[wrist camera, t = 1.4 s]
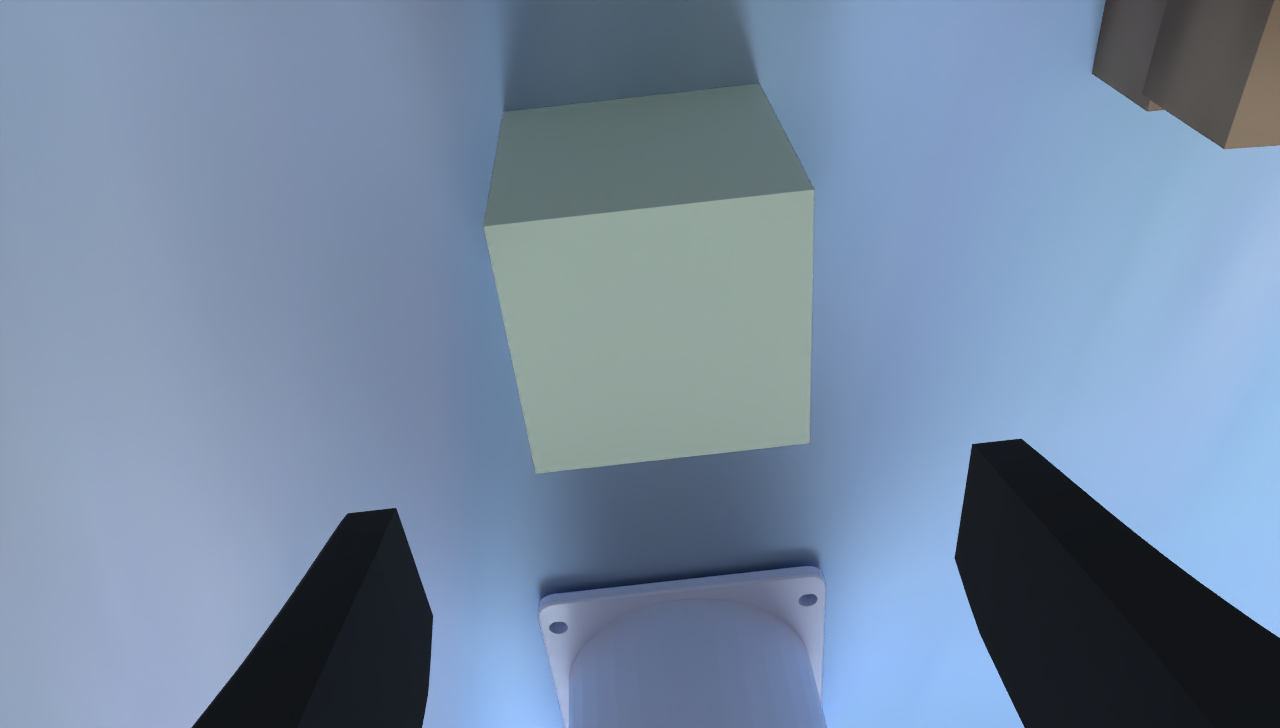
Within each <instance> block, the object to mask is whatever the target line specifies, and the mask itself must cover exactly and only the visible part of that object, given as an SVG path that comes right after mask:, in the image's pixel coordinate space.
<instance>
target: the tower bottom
mask: <svg viewBox="0 0 1280 728" xmlns="http://www.w3.org/2000/svg"><path fill="white" fill-rule="evenodd" d="M1166 3H1167V0H1106V3H1105V8H1104V13H1103V18H1102V23H1101V29H1100V34H1099V39H1098V44H1097V49H1096V54H1095V60H1094V65H1093V70H1092V74H1093V75H1095V76H1096V77H1098V78H1099V79H1101V80H1102V81H1104V82H1105V83H1106V84H1108V85H1109V86H1111V87H1112V88H1114V89H1115V90H1117V91H1118V92H1120V93H1121V94H1123V95H1124V96H1125V97H1127V98H1128V99H1130V100H1131V101H1133V102H1134V103H1136V104H1137V105H1139V106H1140V107H1142V108H1143V109H1144V110H1146V111H1147V112H1148V111H1157V110H1164V109H1163V108H1161V107H1160V106H1158V105H1157V104H1155V103H1154V102H1152V101H1151V100H1149V99H1148V98H1146V97H1145V96H1143V95H1142V91H1143V87H1144V84H1145V80H1146V76H1147V73H1148V69H1149V65H1150V62H1151V58H1152V54H1153V51H1154V47H1155V44H1156V40H1157V36H1158V33H1159V29H1160V25H1161V22H1162V18H1163V14H1164V11H1165V7H1166Z"/></svg>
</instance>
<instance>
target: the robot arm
mask: <svg viewBox="0 0 1280 728" xmlns="http://www.w3.org/2000/svg"><path fill="white" fill-rule="evenodd" d="M955 561H956V564H957V567H958V570H959V573H960V576H961V579H962V582H963V586H964V589H965V592H966V595H967V598H968V601H969V604H970V607H971V610H972V612H973V615H974V618H975V621H976V624H977V627H978V630H979V633H980V635H981V637H982V639H983V641H984V643H985V646H986V648H987V650H988V652H989V654H990V656H991V658H992V660H993V663H994V665H995V667H996V669H997V671H998V673H999V675H1000V677H1001V679H1002V682H1003V684H1004V686H1005V688H1006V690H1007V692H1008V694H1009V696H1010V698H1011V700H1012V702H1013V704H1014V707H1015V709H1016V711H1017V713H1018V715H1019V717H1020V719H1021V721H1022V723H1023V725H1024V727H1025V728H1280V638H1279V637H1277V636H1276V635H1274V634H1273V633H1271V632H1270V631H1268V630H1267V629H1265V628H1264V627H1262V626H1261V625H1259V624H1258V623H1256V622H1255V621H1253V620H1252V619H1251V618H1249V617H1248V616H1246V615H1245V614H1244V613H1242V612H1241V611H1239V610H1238V609H1237V608H1235V607H1234V606H1232V605H1231V604H1229V603H1228V602H1227V601H1225V600H1224V599H1222V598H1221V597H1220V596H1218V595H1217V594H1215V593H1214V592H1213V591H1211V590H1210V589H1208V588H1207V587H1205V586H1204V585H1203V584H1201V583H1200V582H1199V581H1197V580H1196V579H1195V578H1193V577H1192V576H1191V575H1189V574H1188V573H1187V572H1185V571H1184V570H1183V569H1181V568H1180V567H1179V566H1177V565H1176V564H1175V563H1173V562H1172V561H1171V560H1169V559H1168V558H1167V557H1165V556H1164V555H1163V554H1161V553H1160V552H1159V551H1158V550H1156V549H1155V548H1154V547H1153V546H1151V545H1150V544H1149V543H1147V542H1146V541H1145V540H1144V539H1142V538H1141V537H1140V536H1139V535H1137V534H1136V533H1135V532H1133V531H1132V530H1131V529H1130V528H1128V527H1127V526H1126V525H1125V524H1124V523H1122V522H1121V521H1120V520H1119V519H1117V518H1116V517H1115V516H1114V515H1112V514H1111V513H1110V512H1109V511H1108V510H1106V509H1105V508H1104V507H1103V506H1101V505H1100V504H1099V503H1098V502H1097V501H1095V500H1094V499H1093V498H1092V497H1091V496H1089V495H1088V494H1087V493H1086V492H1085V491H1083V490H1082V489H1081V488H1080V487H1079V486H1077V485H1076V484H1075V483H1074V482H1073V481H1071V480H1070V479H1069V478H1068V477H1067V476H1065V475H1064V474H1063V473H1062V472H1061V471H1060V470H1058V469H1057V468H1056V467H1055V466H1054V465H1052V464H1051V463H1050V462H1049V461H1048V460H1046V459H1045V458H1044V457H1043V456H1042V455H1040V454H1039V453H1038V452H1037V451H1036V450H1034V449H1033V448H1032V447H1031V446H1030V445H1028V444H1027V443H1026V442H1025V441H1023V440H1022V439H1015V440H1006V441H996V442H987V443H978V444H972V449H971V456H970V462H969V469H968V475H967V482H966V488H965V495H964V501H963V508H962V514H961V521H960V527H959V534H958V540H957V547H956V553H955ZM805 594H808V595H805ZM825 596H826V583H825V580H824V576H823V573H822V571H821V570H820V569H819V568H816V567H813V566H801V567H792V568H783V569H774V570H765V571H756V572H747V573H738V574H729V575H720V576H711V577H702V578H693V579H684V580H674V581H665V582H656V583H647V584H638V585H629V586H620V587H611V588H602V589H593V590H584V591H575V592H566V593H557V594H551V595H547V596H546V597H544V598H542V599H541V600H540V602H539V604H538V619H539V623H540V627H541V631H542V636H543V640H544V644H545V648H546V652H547V656H548V661H549V665H550V669H551V673H552V677H553V681H554V686H555V690H556V694H557V698H558V702H559V707H560V711H561V715H562V719H563V723H564V727H565V728H827V725H826V721H825V717H824V713H823V709H822V679H823V652H824V624H825ZM557 621H558V622H557ZM432 625H433V614H432V611H431V609H430V606H429V603H428V600H427V597H426V594H425V591H424V588H423V585H422V582H421V579H420V576H419V573H418V570H417V568H416V565H415V562H414V559H413V556H412V553H411V550H410V547H409V544H408V541H407V538H406V535H405V532H404V529H403V527H402V524H401V521H400V518H399V515H398V512H397V509H396V508H392V509H383V510H374V511H365V512H356V513H348V514H347V515H346V516H345V517H344V519H343V520H342V521H341V522H340V524H339V525H338V527H337V528H336V530H335V531H334V533H333V534H332V536H331V537H330V539H329V540H328V542H327V543H326V545H325V546H324V547H323V549H322V550H321V552H320V553H319V555H318V556H317V558H316V559H315V561H314V562H313V564H312V565H311V567H310V568H309V570H308V571H307V573H306V574H305V576H304V577H303V579H302V580H301V582H300V583H299V585H298V586H297V587H296V589H295V590H294V592H293V593H292V595H291V596H290V598H289V599H288V601H287V602H286V603H285V605H284V606H283V608H282V609H281V611H280V612H279V613H278V615H277V616H276V617H275V619H274V620H273V622H272V623H271V624H270V626H269V627H268V629H267V630H266V631H265V633H264V634H263V635H262V637H261V638H260V640H259V641H258V642H257V644H256V645H255V647H254V648H253V649H252V651H251V652H250V653H249V655H248V656H247V658H246V659H245V660H244V662H243V663H242V664H241V666H240V667H239V668H238V670H237V671H236V672H235V673H234V675H233V676H232V677H231V678H230V680H229V681H228V682H227V684H226V685H225V686H224V687H223V689H222V690H221V691H220V692H219V694H218V695H217V696H216V697H215V699H214V700H213V701H212V702H211V704H210V705H209V706H208V708H207V709H206V710H205V711H204V713H203V714H202V715H201V716H200V718H199V719H198V720H197V721H196V723H195V724H194V725H193V726H192V728H422V725H423V719H424V714H425V708H426V702H427V697H428V688H429V674H430V661H431V643H432Z"/></svg>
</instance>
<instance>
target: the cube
mask: <svg viewBox="0 0 1280 728" xmlns="http://www.w3.org/2000/svg"><path fill="white" fill-rule="evenodd" d="M483 227H484V231H485V236H486V241H487V246H488V250H489V255H490V260H491V265H492V269H493V274H494V279H495V283H496V288H497V293H498V298H499V302H500V307H501V312H502V317H503V321H504V326H505V331H506V336H507V340H508V345H509V350H510V354H511V359H512V364H513V369H514V373H515V378H516V383H517V388H518V392H519V397H520V402H521V406H522V411H523V416H524V421H525V425H526V430H527V435H528V440H529V444H530V449H531V454H532V459H533V463H534V468H535V473H536V474H538V473H547V472H556V471H565V470H574V469H583V468H592V467H601V466H610V465H619V464H628V463H637V462H646V461H655V460H664V459H673V458H682V457H691V456H700V455H709V454H718V453H727V452H736V451H745V450H754V449H763V448H772V447H781V446H790V445H799V444H808V443H810V397H811V344H812V291H813V237H814V188H813V186H812V184H811V182H810V180H809V178H808V176H807V174H806V172H805V170H804V168H803V166H802V165H801V163H800V161H799V159H798V157H797V155H796V153H795V151H794V149H793V147H792V145H791V143H790V141H789V139H788V137H787V135H786V134H785V132H784V130H783V128H782V126H781V124H780V122H779V120H778V118H777V116H776V114H775V112H774V110H773V108H772V106H771V104H770V103H769V101H768V99H767V97H766V95H765V93H764V91H763V89H762V87H761V85H760V83H756V84H747V85H738V86H730V87H721V88H712V89H703V90H694V91H685V92H676V93H667V94H658V95H649V96H640V97H631V98H622V99H613V100H604V101H595V102H586V103H577V104H569V105H560V106H551V107H542V108H533V109H524V110H515V111H506V112H503V115H502V121H501V126H500V132H499V138H498V144H497V150H496V156H495V162H494V167H493V173H492V179H491V185H490V191H489V197H488V203H487V209H486V214H485V220H484V226H483Z"/></svg>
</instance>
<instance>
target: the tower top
mask: <svg viewBox="0 0 1280 728" xmlns="http://www.w3.org/2000/svg"><path fill="white" fill-rule="evenodd" d="M1142 95H1143V96H1145V97H1146V98H1148V99H1149V100H1151V101H1152V102H1154V103H1155V104H1157V105H1158V106H1160V107H1161V108H1163V109H1164V110H1166V111H1167V112H1169V113H1170V114H1172V115H1173V116H1175V117H1176V118H1178V119H1179V120H1181V121H1183V122H1184V123H1186V124H1187V125H1189V126H1190V127H1192V128H1193V129H1195V130H1196V131H1198V132H1199V133H1201V134H1202V135H1204V136H1205V137H1207V138H1208V139H1210V140H1211V141H1213V142H1214V143H1216V144H1217V145H1219V146H1220V147H1222V148H1223V149H1232V148H1247V147H1261V146H1275V145H1280V0H1167V3H1166V7H1165V11H1164V14H1163V18H1162V22H1161V25H1160V29H1159V33H1158V36H1157V40H1156V44H1155V47H1154V51H1153V54H1152V58H1151V62H1150V65H1149V69H1148V73H1147V76H1146V80H1145V84H1144V87H1143V91H1142Z"/></svg>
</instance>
